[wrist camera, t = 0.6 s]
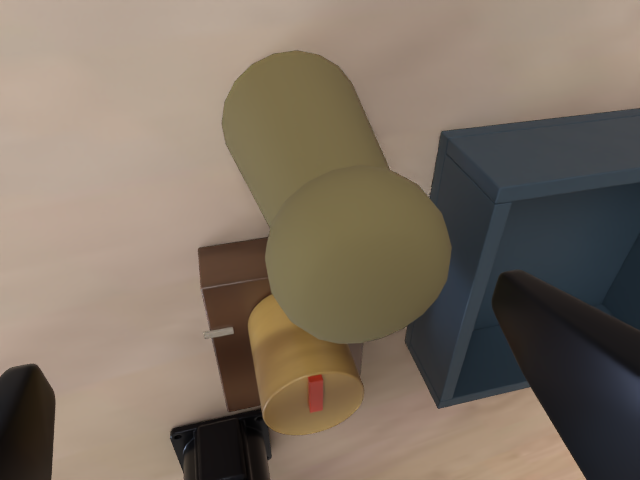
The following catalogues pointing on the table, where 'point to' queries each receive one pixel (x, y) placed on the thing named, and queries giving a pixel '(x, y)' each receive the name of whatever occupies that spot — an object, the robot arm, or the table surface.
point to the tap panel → (238, 314)
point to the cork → (332, 203)
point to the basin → (528, 237)
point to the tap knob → (300, 374)
